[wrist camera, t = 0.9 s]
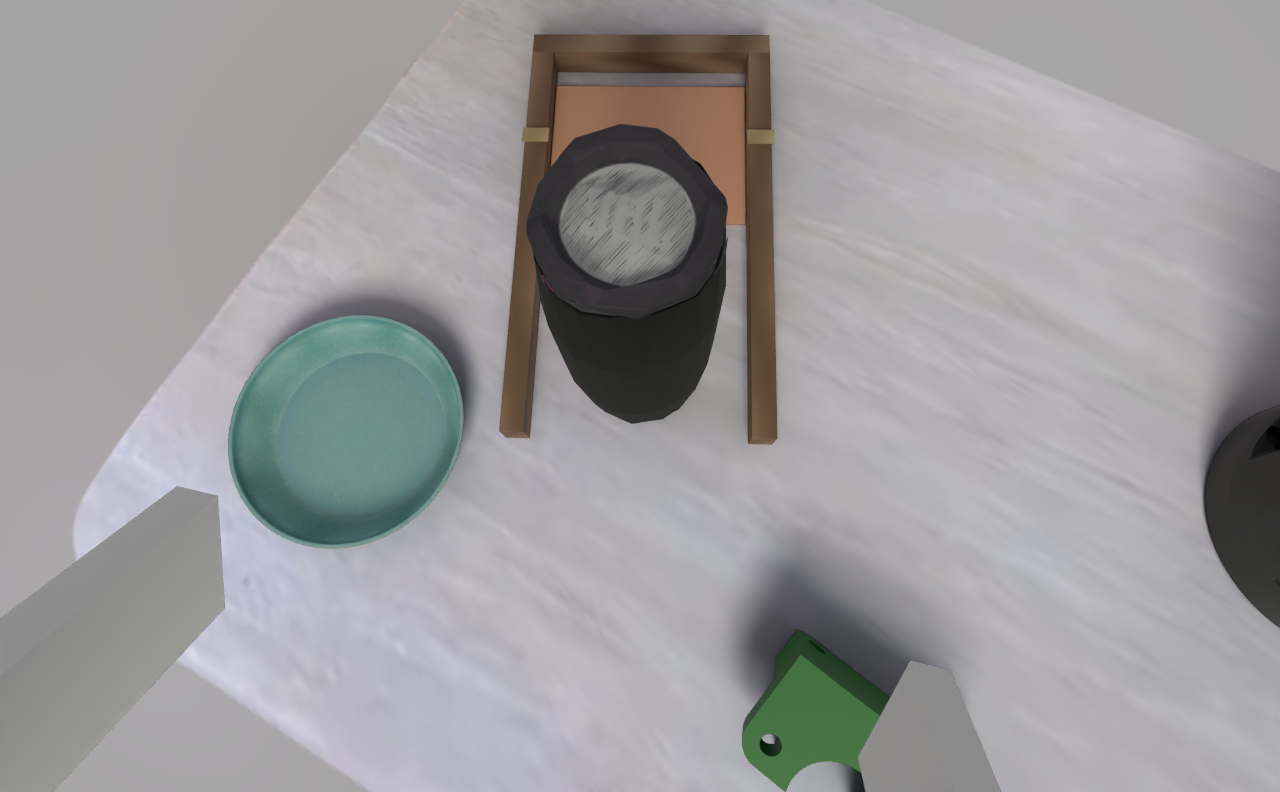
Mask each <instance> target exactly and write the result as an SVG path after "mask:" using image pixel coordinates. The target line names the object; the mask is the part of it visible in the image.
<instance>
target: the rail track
mask: <svg viewBox="0 0 1280 792" xmlns="http://www.w3.org/2000/svg"><path fill="white" fill-rule="evenodd" d="M558 72H668V73H745V118H746V236H747V355H748V444H768V445H772V444H773V443H774V442H775V440H776V439H777V399H776V349H775V298H774V248H773V197H772V147H771V144H774V130H771V96H770V46H769V35H534V46H533V57H532V68H531V79H530V91H529V102H528V113H527V124H526V128H523V137H522V141H523V142H525V147H524V158H523V169H522V181H521V192H520V203H519V214H518V226H517V237H516V248H515V259H514V271H513V282H512V293H511V304H510V316H509V327H508V338H507V349H506V361H505V372H504V383H503V394H502V405H501V417H500V428H499V431H500V432H501V433H502V434H503V435H504V436H505V437H507V438H530V426H531V413H532V400H533V387H534V374H535V361H536V348H537V335H538V322H539V309H540V293H539V287H538V280H537V274H536V268H535V265H534V264H535V262H534V256H533V250H532V247H531V245H530V242H529V240H528V237H527V235H526V226H527V218H528V215H529V211H530V208H531V205H532V202H533V199H534V195H535V192H536V189H537V186H538V184H539V183H540V181H541V180H542V179H543V177H544V176H545V175H546V173H547V172H548V171H549V169H550V166H551V153H552V140H553V127H554V114H555V101H556V88H557V75H558ZM530 254H531V255H530ZM532 259H533V260H532Z"/></svg>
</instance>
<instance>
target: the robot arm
mask: <svg viewBox="0 0 1280 792" xmlns="http://www.w3.org/2000/svg"><path fill="white" fill-rule="evenodd" d="M1206 512H1207V519H1208V524H1209V529H1210V533H1211V536H1212V539H1213V542H1214V545H1215V548H1216V550H1217V552H1218V555H1219V557H1220V559H1221V561H1222V563H1223V565H1224V567H1225V569H1226V570H1227V572H1228V574H1229V575H1230V577H1231V578H1232V580H1233V581H1234V583H1235V584H1236V585H1237V587H1238V588H1239V589H1240V591H1241V592H1242V593H1243V594H1244V596H1245V597H1246V598H1247V599H1248V600H1249V601H1250V602H1251V603H1252V604H1253V605H1254V606H1255V607H1256V608H1257V609H1258V610H1259V611H1260V612H1261V613H1262V614H1263V615H1264V616H1265V617H1266V618H1268V619H1269V620H1270V621H1271V622H1273V623H1274V624H1275V625H1277V626H1278V627H1279V628H1280V405H1279V406H1276V407H1272V408H1269V409H1266V410H1264V411H1261V412H1259V413H1257V414H1255V415H1253V416H1251V417H1250V418H1248V419H1247V420H1245V421H1244V422H1242V423H1241V424H1240V425H1238V426H1237V427H1236V428H1235V429H1234V430H1233V431H1232V432H1231V433H1230V434H1229V435H1228V436H1227V438H1226V439H1225V440H1224V442H1223V443H1222V444H1221V446H1220V448H1219V449H1218V451H1217V453H1216V455H1215V457H1214V459H1213V462H1212V465H1211V467H1210V471H1209V475H1208V480H1207V487H1206ZM224 608H225V599H224V583H223V568H222V552H221V537H220V521H219V506H218V496H216V495H212V494H208V493H203V492H199V491H195V490H191V489H187V488H182V487H178V486H177V487H175V488H174V489H173V490H171V491H170V492H169V493H167V494H166V495H165V496H163V497H162V498H161V499H159V500H158V501H157V502H155V503H154V504H153V505H151V506H150V507H149V508H147V509H146V510H145V511H143V512H142V513H141V514H139V515H138V516H137V517H135V518H134V519H133V520H131V521H130V522H129V523H127V524H126V525H125V526H123V527H122V528H120V529H119V530H118V531H116V532H115V533H114V534H112V535H111V536H110V537H108V538H107V539H106V540H104V541H103V542H102V543H100V544H99V545H98V546H96V547H95V548H94V549H92V550H91V551H90V552H88V553H87V554H86V555H84V556H83V557H82V558H80V559H79V560H78V561H76V562H75V563H74V564H72V565H71V566H70V567H68V568H67V569H66V570H64V571H63V572H62V573H60V574H59V575H58V576H56V577H55V578H53V579H52V580H51V581H49V582H48V583H47V584H45V585H44V586H43V587H42V588H40V589H39V590H37V591H36V592H35V593H33V594H32V595H31V596H29V597H28V598H27V599H25V600H24V601H23V602H22V603H20V604H19V605H17V606H16V607H15V608H13V609H12V610H11V611H9V612H8V613H7V614H5V615H4V616H3V617H1V618H0V792H54V791H55V790H56V789H57V787H58V786H59V785H60V784H61V783H62V782H63V781H64V780H65V779H66V778H67V777H68V776H69V775H70V774H71V772H72V771H73V770H74V769H75V768H76V767H77V766H78V765H79V764H80V763H81V762H82V761H83V760H84V759H85V757H86V756H87V755H88V754H89V753H90V752H91V751H92V750H93V749H94V748H95V747H96V746H97V745H98V744H99V742H100V741H101V740H102V739H103V738H104V737H105V736H106V735H107V734H108V733H109V732H110V731H111V730H112V729H113V727H114V726H115V725H116V724H117V723H118V722H119V721H120V720H121V719H122V718H123V717H124V716H125V715H126V714H127V712H128V711H129V710H130V709H131V708H132V707H133V706H134V705H135V704H136V703H137V702H138V701H139V700H140V698H141V697H142V696H143V695H144V694H145V693H146V692H147V691H148V690H149V689H150V688H151V687H152V686H153V685H154V684H155V682H156V681H157V680H158V679H159V678H160V677H161V676H162V675H163V674H164V673H165V672H166V671H167V670H168V668H169V667H170V666H171V665H172V664H173V663H174V662H175V661H176V660H177V659H178V658H179V657H180V656H181V655H182V654H183V652H184V651H185V650H186V649H187V648H188V647H189V646H190V645H191V644H192V643H193V642H194V641H195V640H196V639H197V637H198V636H199V635H200V634H201V633H202V632H203V631H204V630H205V629H206V628H207V627H208V626H209V625H210V624H211V622H212V621H213V620H214V619H215V618H216V617H217V616H218V615H219V614H220V613H221V612H222V611H223V610H224ZM858 760H859V765H860V769H861V774H862V778H863V782H864V787H865V791H866V792H1001V790H1000V788H999V785H998V783H997V780H996V778H995V776H994V773H993V771H992V768H991V766H990V764H989V761H988V759H987V757H986V754H985V752H984V749H983V747H982V745H981V742H980V740H979V737H978V735H977V733H976V730H975V728H974V725H973V723H972V721H971V718H970V716H969V713H968V711H967V709H966V706H965V704H964V701H963V699H962V697H961V694H960V692H959V689H958V687H957V685H956V682H955V680H954V677H953V675H952V673H951V670H948V669H944V668H940V667H936V666H932V665H927V664H923V663H919V662H915V661H910V662H909V664H908V666H907V668H906V669H905V671H904V673H903V675H902V677H901V679H900V680H899V682H898V684H897V686H896V688H895V690H894V692H893V693H892V695H891V697H890V699H889V701H888V703H887V705H886V706H885V708H884V710H883V712H882V714H881V716H880V717H879V719H878V721H877V723H876V725H875V727H874V729H873V730H872V732H871V734H870V736H869V738H868V740H867V742H866V743H865V745H864V747H863V749H862V751H861V753H860V754H859V756H858Z"/></svg>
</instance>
